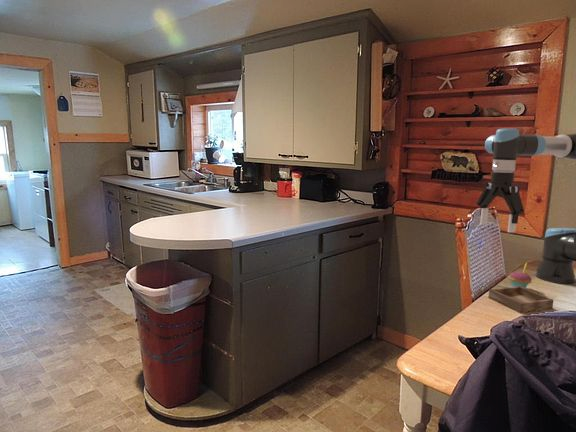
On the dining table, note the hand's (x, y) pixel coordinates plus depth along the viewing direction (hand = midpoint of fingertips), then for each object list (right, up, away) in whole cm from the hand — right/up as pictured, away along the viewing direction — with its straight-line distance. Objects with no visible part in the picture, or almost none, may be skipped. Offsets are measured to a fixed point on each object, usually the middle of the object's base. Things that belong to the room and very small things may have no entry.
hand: (496, 228), depth 155 cm
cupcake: (+18, -26, +17) cm, 36 cm away
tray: (+9, -28, +1) cm, 30 cm away
